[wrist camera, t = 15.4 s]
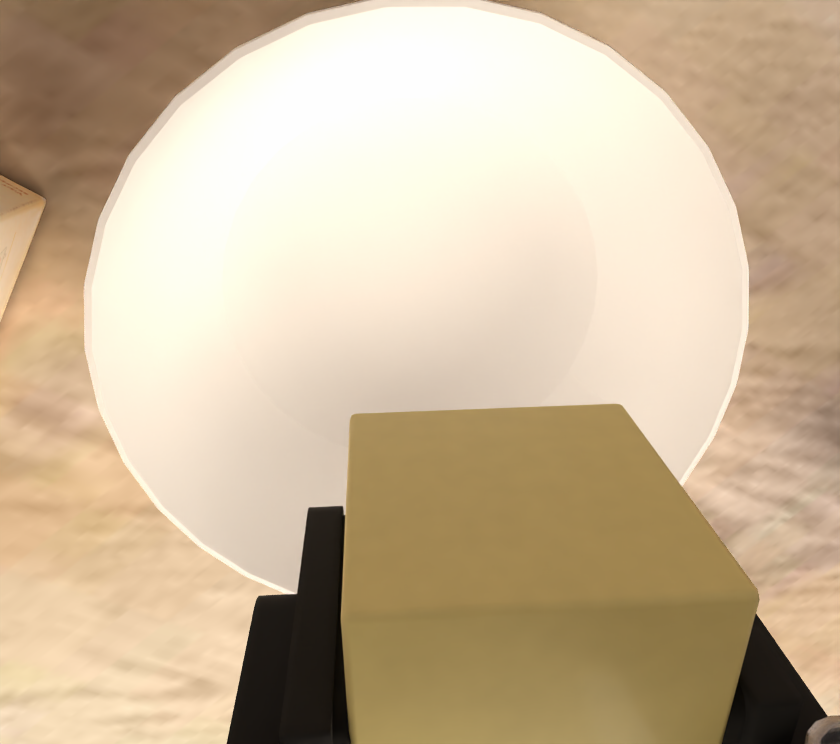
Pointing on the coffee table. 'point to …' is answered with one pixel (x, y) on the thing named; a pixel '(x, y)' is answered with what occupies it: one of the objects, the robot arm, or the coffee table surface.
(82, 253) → the coffee table surface
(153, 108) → the coffee table surface
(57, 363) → the coffee table surface
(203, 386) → the bowl
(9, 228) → the coffeecake box
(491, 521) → the butter
